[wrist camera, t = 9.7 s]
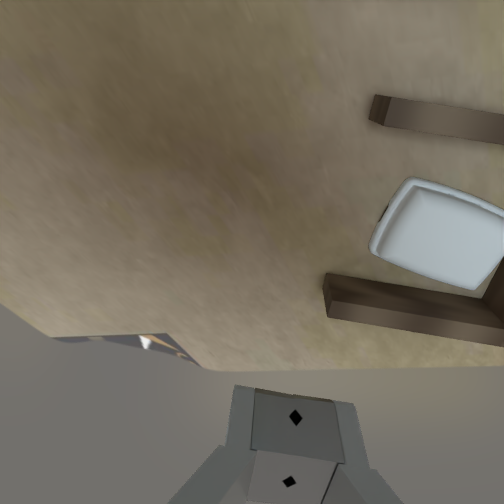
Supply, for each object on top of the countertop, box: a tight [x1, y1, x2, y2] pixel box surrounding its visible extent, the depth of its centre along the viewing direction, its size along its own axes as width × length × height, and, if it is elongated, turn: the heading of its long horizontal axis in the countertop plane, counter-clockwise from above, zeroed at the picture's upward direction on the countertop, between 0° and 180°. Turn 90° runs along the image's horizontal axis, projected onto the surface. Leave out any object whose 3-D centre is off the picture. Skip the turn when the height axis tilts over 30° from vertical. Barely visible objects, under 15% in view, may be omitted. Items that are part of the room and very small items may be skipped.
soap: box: [369, 177, 504, 290], centre depth 25 cm, size 9×7×3 cm
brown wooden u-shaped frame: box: [322, 95, 504, 347], centre depth 24 cm, size 14×15×4 cm
